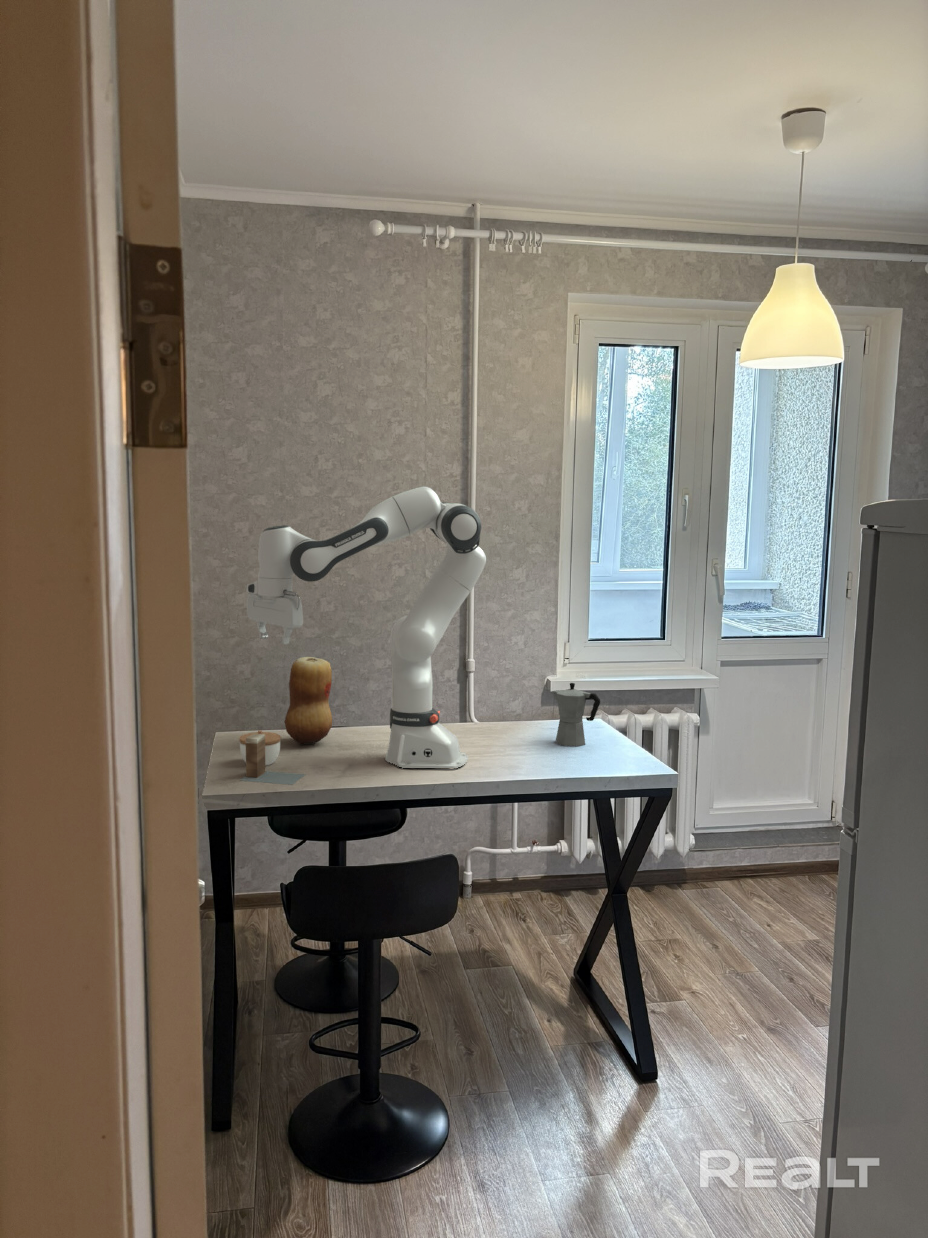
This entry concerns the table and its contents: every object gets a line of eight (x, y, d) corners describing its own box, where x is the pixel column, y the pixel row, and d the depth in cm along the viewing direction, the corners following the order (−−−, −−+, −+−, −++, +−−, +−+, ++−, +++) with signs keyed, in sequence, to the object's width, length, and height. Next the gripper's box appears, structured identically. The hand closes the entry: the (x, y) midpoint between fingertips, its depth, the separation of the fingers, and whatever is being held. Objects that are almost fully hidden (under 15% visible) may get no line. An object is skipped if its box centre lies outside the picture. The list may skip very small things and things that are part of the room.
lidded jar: (281, 759, 253) (281, 725, 252) (280, 770, 243) (280, 735, 242) (240, 760, 252) (240, 726, 250) (238, 772, 241) (237, 736, 240)
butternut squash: (325, 750, 263) (325, 663, 259) (279, 748, 264) (278, 661, 261) (337, 738, 276) (337, 654, 273) (293, 736, 278) (293, 653, 275)
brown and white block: (265, 772, 238) (265, 734, 237) (257, 778, 234) (256, 739, 232) (254, 771, 239) (253, 733, 238) (246, 777, 234) (245, 738, 233)
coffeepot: (543, 743, 275) (545, 683, 272) (556, 736, 283) (557, 677, 281) (592, 750, 267) (594, 689, 265) (604, 743, 276) (606, 683, 273)
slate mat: (305, 777, 237) (305, 774, 237) (292, 788, 229) (292, 784, 229) (254, 773, 240) (254, 770, 240) (239, 783, 231) (239, 780, 231)
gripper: (309, 591, 236) (308, 645, 237) (262, 584, 250) (262, 635, 251) (289, 592, 231) (288, 647, 233) (242, 585, 245) (241, 637, 247)
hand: (274, 641), depth 242 cm, fingers open, 8 cm apart
